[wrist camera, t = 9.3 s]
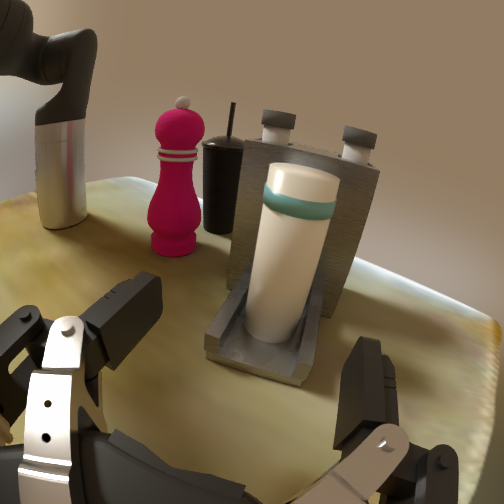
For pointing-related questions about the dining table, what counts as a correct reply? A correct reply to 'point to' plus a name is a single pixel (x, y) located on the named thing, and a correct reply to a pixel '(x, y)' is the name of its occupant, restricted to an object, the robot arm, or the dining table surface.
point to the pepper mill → (176, 182)
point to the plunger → (277, 126)
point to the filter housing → (326, 275)
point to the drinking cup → (221, 179)
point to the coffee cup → (288, 248)
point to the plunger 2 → (358, 144)
